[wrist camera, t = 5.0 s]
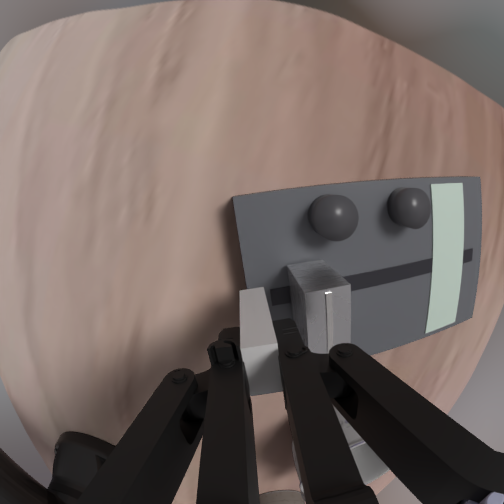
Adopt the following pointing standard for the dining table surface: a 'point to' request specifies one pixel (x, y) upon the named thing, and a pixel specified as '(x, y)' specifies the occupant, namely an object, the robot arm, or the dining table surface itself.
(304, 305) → the fader cap
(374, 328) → the console
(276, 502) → the thermos bottle
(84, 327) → the dining table surface
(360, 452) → the teacup
